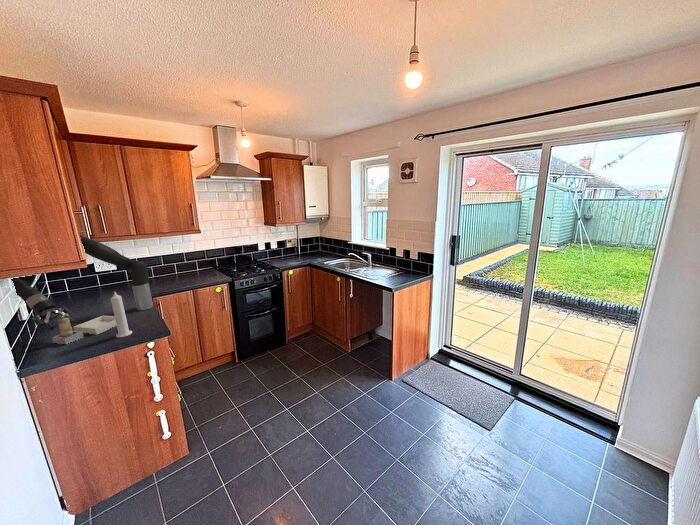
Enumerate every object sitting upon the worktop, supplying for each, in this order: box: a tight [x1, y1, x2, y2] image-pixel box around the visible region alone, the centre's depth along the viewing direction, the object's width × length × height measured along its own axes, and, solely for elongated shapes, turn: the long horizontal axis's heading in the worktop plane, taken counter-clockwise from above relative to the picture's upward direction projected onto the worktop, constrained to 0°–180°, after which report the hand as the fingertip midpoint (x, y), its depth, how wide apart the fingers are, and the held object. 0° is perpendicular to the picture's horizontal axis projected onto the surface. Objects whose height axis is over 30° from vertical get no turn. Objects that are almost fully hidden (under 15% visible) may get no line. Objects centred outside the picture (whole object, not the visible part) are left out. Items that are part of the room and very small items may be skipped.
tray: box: [72, 314, 117, 335], centre depth 166 cm, size 16×16×4 cm
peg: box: [56, 318, 74, 337], centre depth 150 cm, size 4×4×12 cm
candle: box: [110, 291, 133, 339], centre depth 153 cm, size 7×7×25 cm
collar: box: [52, 329, 85, 345], centre depth 151 cm, size 8×8×4 cm
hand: (62, 325), depth 150 cm, fingers open, 8 cm apart
